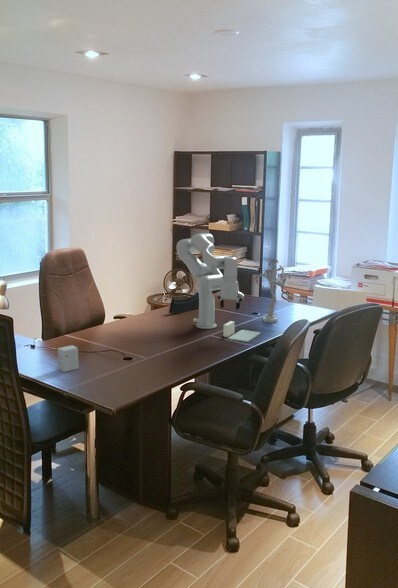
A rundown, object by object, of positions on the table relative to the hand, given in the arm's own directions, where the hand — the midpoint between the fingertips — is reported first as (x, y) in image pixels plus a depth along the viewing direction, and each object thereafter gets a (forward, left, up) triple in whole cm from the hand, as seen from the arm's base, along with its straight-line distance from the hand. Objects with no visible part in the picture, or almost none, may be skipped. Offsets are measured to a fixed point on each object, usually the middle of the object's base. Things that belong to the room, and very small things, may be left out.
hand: (229, 308), depth 337 cm
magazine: (-50, +40, -16) cm, 66 cm away
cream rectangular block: (0, 0, -16) cm, 16 cm away
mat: (+9, +1, -16) cm, 18 cm away
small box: (-43, -92, -16) cm, 103 cm away
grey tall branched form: (+9, +44, -16) cm, 48 cm away
